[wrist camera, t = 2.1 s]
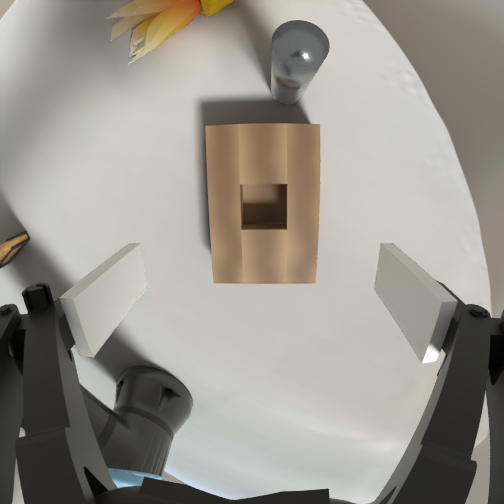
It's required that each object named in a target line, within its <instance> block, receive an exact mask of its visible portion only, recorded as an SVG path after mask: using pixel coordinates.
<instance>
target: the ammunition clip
mask: <svg viewBox="0 0 504 504" xmlns="http://www.w3.org/2000/svg"><path fill="white" fill-rule="evenodd" d="M29 240H30V238H29V236H28V234H27V232H26V231H24V232H22V233H20V234H18V235H16V236H14V237H12V238H10V239H8V240H7V241H6V242H5V243H3V244H1V245H0V268H2V267H4V266H5V265H7V264H9V263H10V262H11V261H12V259H13V258H14V257H15V256H16V255H17V254H18V252H19V251H20V250H21V249H22V248H23V247H24V246H25V245H26V243H27V242H28V241H29Z"/></svg>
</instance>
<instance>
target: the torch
mask: <svg viewBox="0 0 504 504" xmlns="http://www.w3.org/2000/svg"><path fill="white" fill-rule="evenodd" d="M232 1H234V0H132V1H131V2H129V3H128V4H126V5H124V6H123V7H121V8H120V9H118V10H117V11H116V12H114V13H113V14H111V15H110V16H108V17H107V18H106V19H112V18H119V17H124V18H122V19H121V20H120V21H118V22H117V23H116V24H115V25H113V27H112V29H111V38H110V42H111V41H112V40H114V39H115V38H117V37H119V36H120V35H122V34H123V33H125V32H126V31H128V30H129V29H131V28H132V27H134V26H135V25H137V24H140V25H138V26H137V27H136V28H135V29H134V30H133V33H132V37H131V41H130V54H129V57H131V56H133V55H136V56H135V57H134V58H133V59H132V60H131V61H130V62H129V63H128V64H130V63H132V62H134V61H136V60H138V59H139V58H141V57H142V56H144V55H145V54H147V53H148V52H150V51H151V50H153V49H155V48H156V47H157V46H159V45H160V44H161V43H163V42H164V41H165V40H167V39H168V38H169V37H171V36H172V35H173V34H175V33H176V32H178V31H179V30H181V29H182V28H183V27H185V26H186V25H188V24H189V23H190V22H191V21H192V20H193V19H194V17H195V16H196V15H197V14H198V13H200V14H202V15H204V16H212V15H213V14H215V13H216V12H218V11H219V10H220V9H222V8H223V7H225V6H226V5H228V4H229V3H231V2H232ZM104 20H105V19H104ZM128 64H127V65H128Z"/></svg>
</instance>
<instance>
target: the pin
mask: <svg viewBox="0 0 504 504" xmlns="http://www.w3.org/2000/svg"><path fill="white" fill-rule="evenodd" d="M328 52H329V40H328V38H327V36H326V34H325V33H324V32H323V31H322V30H321V29H320V28H319V27H318V26H316V25H314V24H312V23H310V22H307V21H301V20H294V21H289V22H286V23H284V24H282V25H280V26H279V27H278V28H277V29H276V30H275V32H274V34H273V37H272V61H271V93H272V95H273V97H274V98H275V99H276V100H277V101H278V102H280V103H283V104H293V103H296V102H297V101H299V100H300V99H301V97H302V96H303V94H304V92H305V91H306V89H307V87H308V86H309V84H310V82H311V81H312V79H313V77H314V76H315V74H316V73H317V71H318V69H319V68H320V66H321V65H322V63H323V61H324V60H325V58H326V57H327V55H328Z"/></svg>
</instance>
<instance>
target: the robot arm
mask: <svg viewBox="0 0 504 504" xmlns="http://www.w3.org/2000/svg"><path fill="white" fill-rule="evenodd" d="M147 288H148V287H147V282H146V276H145V270H144V264H143V257H142V250H141V243H132V244H127V245H126V246H125V247H123V248H122V249H121V250H119V251H118V252H117V253H115V254H114V255H113V256H111V257H110V258H109V259H107V260H106V261H105V262H103V263H102V264H101V265H99V266H98V267H97V268H96V269H94V270H93V271H92V272H90V273H89V274H88V275H87V276H85V277H84V278H83V279H82V280H80V281H79V282H78V283H77V284H75V285H74V286H73V287H72V288H70V289H69V290H68V291H67V292H66V293H64V294H63V295H62V296H61V297H59V299H57V300H56V301H55V302H54V301H53V298H52V295H51V291H50V288H49V285H48V284H46V283H39V284H35V285H32V286H30V287H28V288H26V289H25V290H24V291H23V292H22V296H23V299H24V302H25V305H26V308H27V310H28V314H20V313H19V310H18V308H17V306H16V305H15V304H9V305H7V304H6V305H4V306H1V307H0V504H355V503H351V502H348V501H344V500H339V499H331V498H329V489H319V490H306V491H284V492H278V493H273V494H268V495H263V496H258V497H252V498H246V499H239V500H229V499H226V498H222V497H219V496H216V495H213V494H210V493H207V492H204V491H201V490H199V489H196V488H193V487H191V486H188V485H184V484H179V483H173V482H168V481H163V480H162V474H163V471H164V468H165V464H166V461H167V457H168V454H169V450H170V447H171V443H172V440H173V437H174V435H175V433H176V432H177V431H178V430H179V429H180V428H181V426H182V425H183V424H184V423H185V422H186V420H187V419H188V418H189V416H190V413H191V410H192V406H193V400H192V397H191V395H190V393H189V391H188V390H187V389H186V387H185V386H184V385H183V384H182V383H180V382H179V381H178V380H177V379H175V378H174V377H172V376H170V375H169V374H167V373H165V372H162V371H160V370H157V369H154V368H149V367H141V366H139V367H132V368H129V369H127V370H125V371H124V372H123V373H122V375H121V377H120V379H119V380H118V382H117V386H116V395H115V405H114V409H113V411H112V410H111V409H110V408H109V407H107V406H106V405H105V404H103V403H102V402H101V401H100V400H99V399H97V398H96V397H95V396H94V395H92V394H91V393H90V392H89V391H88V390H87V389H85V388H84V387H83V386H82V385H81V384H80V383H79V379H78V375H77V370H76V366H75V361H74V356H73V353H72V351H71V348H72V346H73V345H74V344H75V345H76V347H77V350H78V352H79V355H83V356H87V357H92V358H93V357H94V356H95V355H96V353H97V352H98V351H99V349H100V348H101V347H102V345H103V344H104V343H105V341H106V340H107V339H108V338H109V336H110V335H111V334H112V332H113V331H114V330H115V328H116V327H117V326H118V325H119V323H120V322H121V321H122V319H123V318H124V317H125V316H126V314H127V313H128V312H129V311H130V309H131V308H132V307H133V306H134V304H135V303H136V302H137V301H138V299H139V298H140V297H141V296H142V294H143V293H144V292H145V291H146V290H147ZM374 290H375V291H376V293H377V294H378V296H379V297H380V299H381V300H382V302H383V303H384V305H385V306H386V308H387V309H388V311H389V312H390V314H391V315H392V317H393V318H394V320H395V321H396V323H397V324H398V326H399V327H400V329H401V331H402V332H403V334H404V335H405V337H406V338H407V340H408V342H409V343H410V345H411V347H412V348H413V350H414V351H415V353H416V355H417V356H418V358H419V360H420V361H421V363H428V362H433V361H437V359H438V357H439V354H440V352H441V349H443V351H444V352H445V354H446V355H445V358H444V360H443V363H442V365H441V367H440V370H439V372H438V374H437V376H438V378H437V380H436V383H435V386H434V389H433V391H432V394H431V396H430V399H429V401H428V404H427V406H426V409H425V411H424V413H423V416H422V418H421V420H420V422H419V425H418V427H417V429H416V431H415V433H414V435H413V437H412V439H411V441H410V443H409V445H408V447H407V449H406V451H405V453H404V455H403V457H402V458H401V460H400V462H399V464H398V466H397V467H396V469H395V471H394V473H393V474H392V476H391V478H390V479H389V481H388V482H387V484H386V486H385V487H384V489H383V490H382V492H381V493H380V495H379V496H378V497H377V499H376V500H375V501H374V502H373V504H465V502H466V499H467V497H468V494H469V491H470V488H471V485H472V482H473V479H474V476H475V473H476V468H477V463H476V461H472V460H471V455H472V451H473V448H474V444H475V440H476V436H477V432H478V428H479V423H480V419H481V414H482V408H483V403H484V396H485V390H486V397H487V406H488V416H489V429H490V485H489V496H488V504H504V310H503V313H502V316H501V318H491V316H490V313H489V312H488V311H487V310H486V309H484V308H483V307H481V306H478V305H474V304H467V305H465V304H464V303H463V302H462V301H461V300H460V299H459V298H458V297H457V296H456V295H454V293H453V292H452V291H450V290H449V289H448V288H447V287H446V286H445V285H444V284H442V283H440V282H439V281H437V280H435V279H434V278H433V277H432V276H430V275H429V274H428V273H427V272H426V271H425V270H424V269H423V268H421V267H420V266H419V265H418V264H417V263H416V262H415V261H413V260H412V259H411V258H410V257H409V256H408V255H406V254H405V253H404V252H403V251H402V250H400V249H399V248H398V247H397V246H396V245H394V244H393V243H381V245H380V253H379V260H378V268H377V274H376V281H375V287H374Z"/></svg>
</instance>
